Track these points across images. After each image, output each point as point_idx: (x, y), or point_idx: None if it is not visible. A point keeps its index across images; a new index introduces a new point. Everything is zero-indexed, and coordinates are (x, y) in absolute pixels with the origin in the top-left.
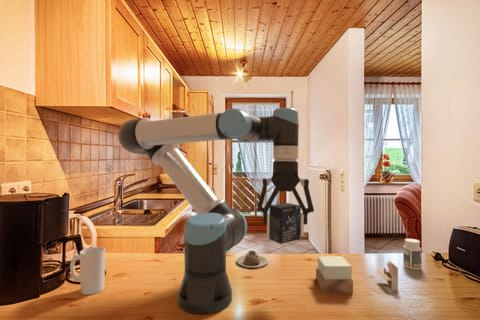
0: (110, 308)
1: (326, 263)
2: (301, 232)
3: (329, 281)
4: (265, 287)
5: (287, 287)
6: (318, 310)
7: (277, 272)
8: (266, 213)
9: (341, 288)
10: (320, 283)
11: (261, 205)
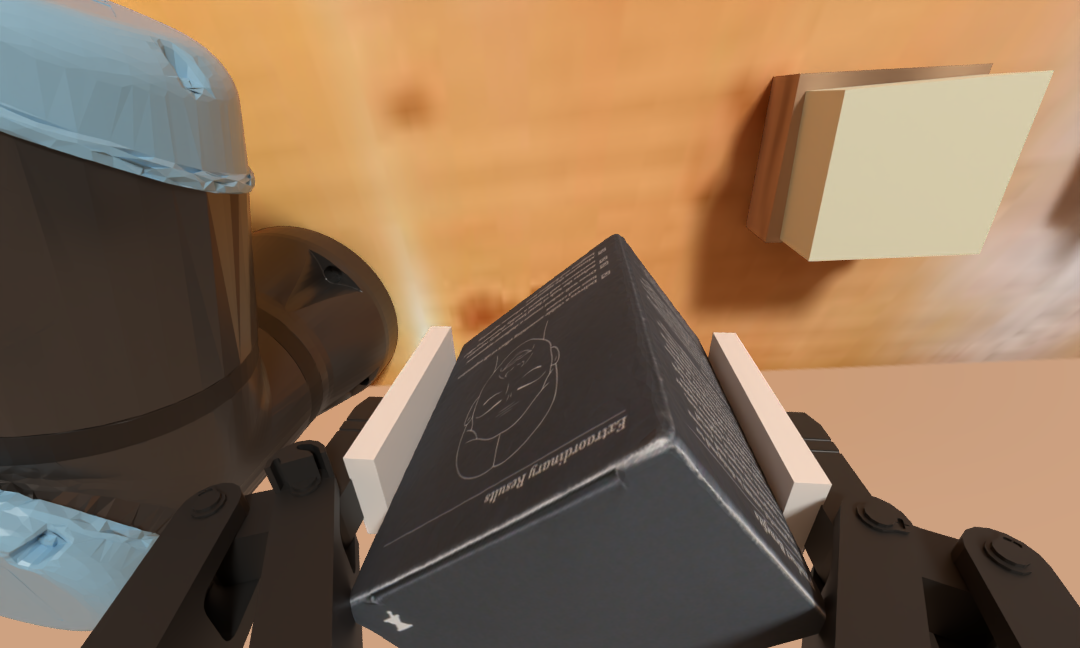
0: None
1: (840, 222)
2: None
3: None
4: (502, 212)
5: (598, 202)
6: None
7: (561, 18)
8: (357, 514)
9: None
10: (759, 195)
11: (241, 621)
